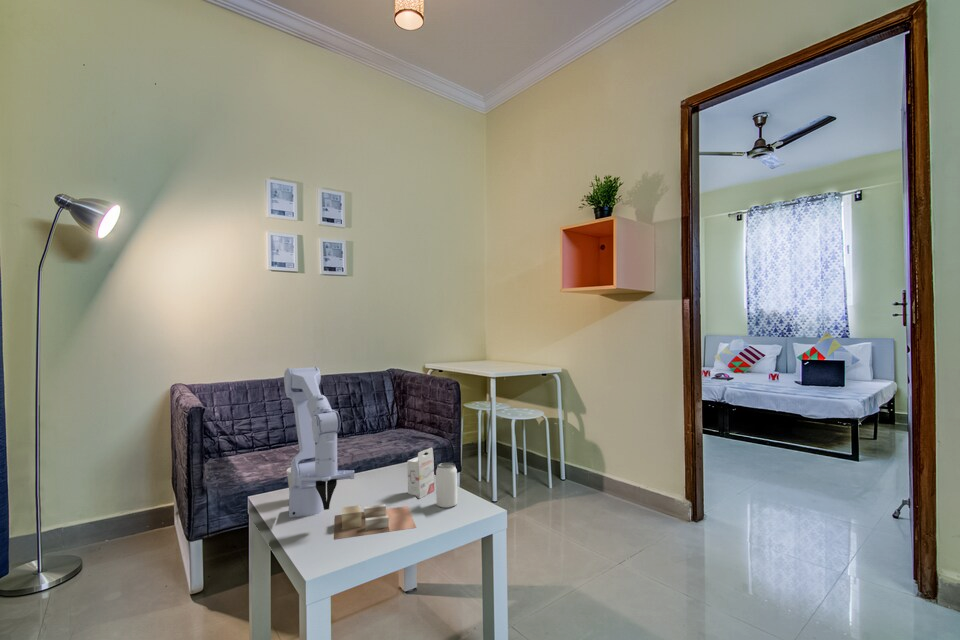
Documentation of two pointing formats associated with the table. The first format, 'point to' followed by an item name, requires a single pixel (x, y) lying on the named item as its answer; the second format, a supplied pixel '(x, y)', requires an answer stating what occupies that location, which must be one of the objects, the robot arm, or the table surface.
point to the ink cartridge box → (421, 474)
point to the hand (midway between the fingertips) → (326, 508)
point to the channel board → (376, 521)
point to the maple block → (351, 517)
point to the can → (446, 485)
